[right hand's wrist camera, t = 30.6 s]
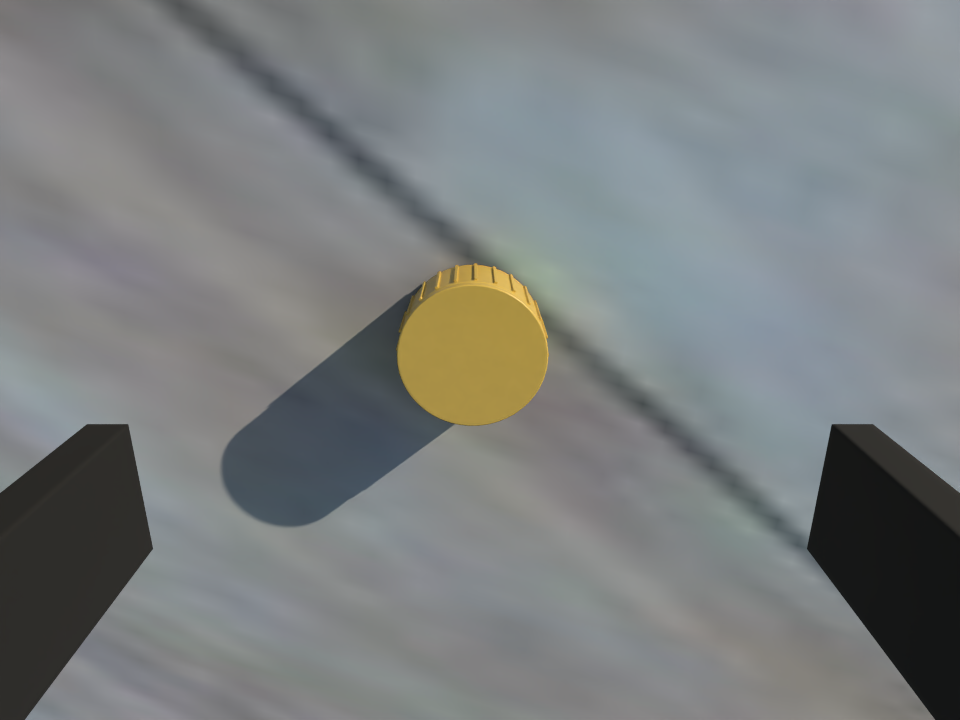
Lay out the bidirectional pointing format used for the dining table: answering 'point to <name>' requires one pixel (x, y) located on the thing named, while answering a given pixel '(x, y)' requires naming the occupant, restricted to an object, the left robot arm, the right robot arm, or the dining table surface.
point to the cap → (472, 346)
